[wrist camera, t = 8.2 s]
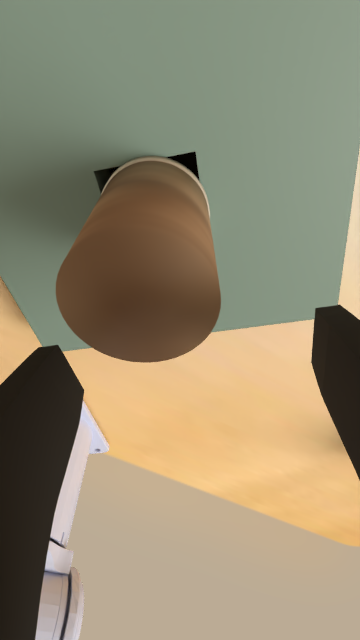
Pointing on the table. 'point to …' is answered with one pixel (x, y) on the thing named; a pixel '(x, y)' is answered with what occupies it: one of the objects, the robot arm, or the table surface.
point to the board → (183, 138)
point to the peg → (143, 265)
